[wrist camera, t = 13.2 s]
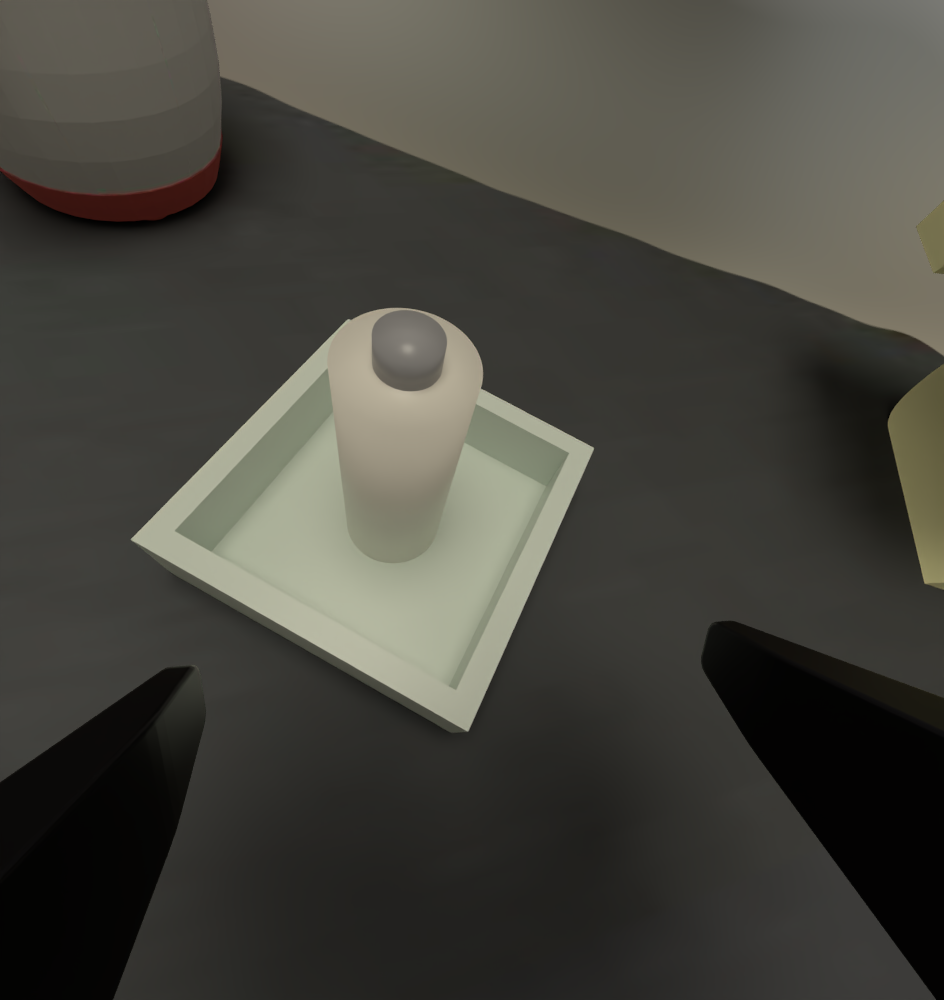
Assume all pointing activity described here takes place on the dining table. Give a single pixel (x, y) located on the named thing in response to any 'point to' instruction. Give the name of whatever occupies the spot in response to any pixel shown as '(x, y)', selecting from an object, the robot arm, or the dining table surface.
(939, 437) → the slatted curved stool
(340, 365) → the grey-capped cream cylinder
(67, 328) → the dining table surface
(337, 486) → the walled box
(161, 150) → the citrus juicer
